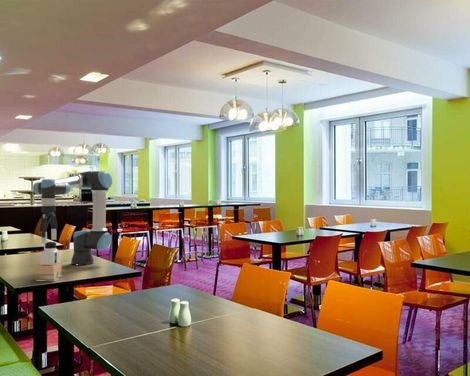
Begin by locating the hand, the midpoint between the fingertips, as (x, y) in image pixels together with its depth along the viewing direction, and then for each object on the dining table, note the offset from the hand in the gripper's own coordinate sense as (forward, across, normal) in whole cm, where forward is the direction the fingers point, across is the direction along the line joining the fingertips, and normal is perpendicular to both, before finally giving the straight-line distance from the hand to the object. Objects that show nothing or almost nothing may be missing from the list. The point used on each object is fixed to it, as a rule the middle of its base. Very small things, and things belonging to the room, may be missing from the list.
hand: (49, 241), depth 260 cm
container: (+14, +1, 0) cm, 14 cm away
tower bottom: (+23, +1, 0) cm, 23 cm away
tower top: (+18, +1, 0) cm, 18 cm away
